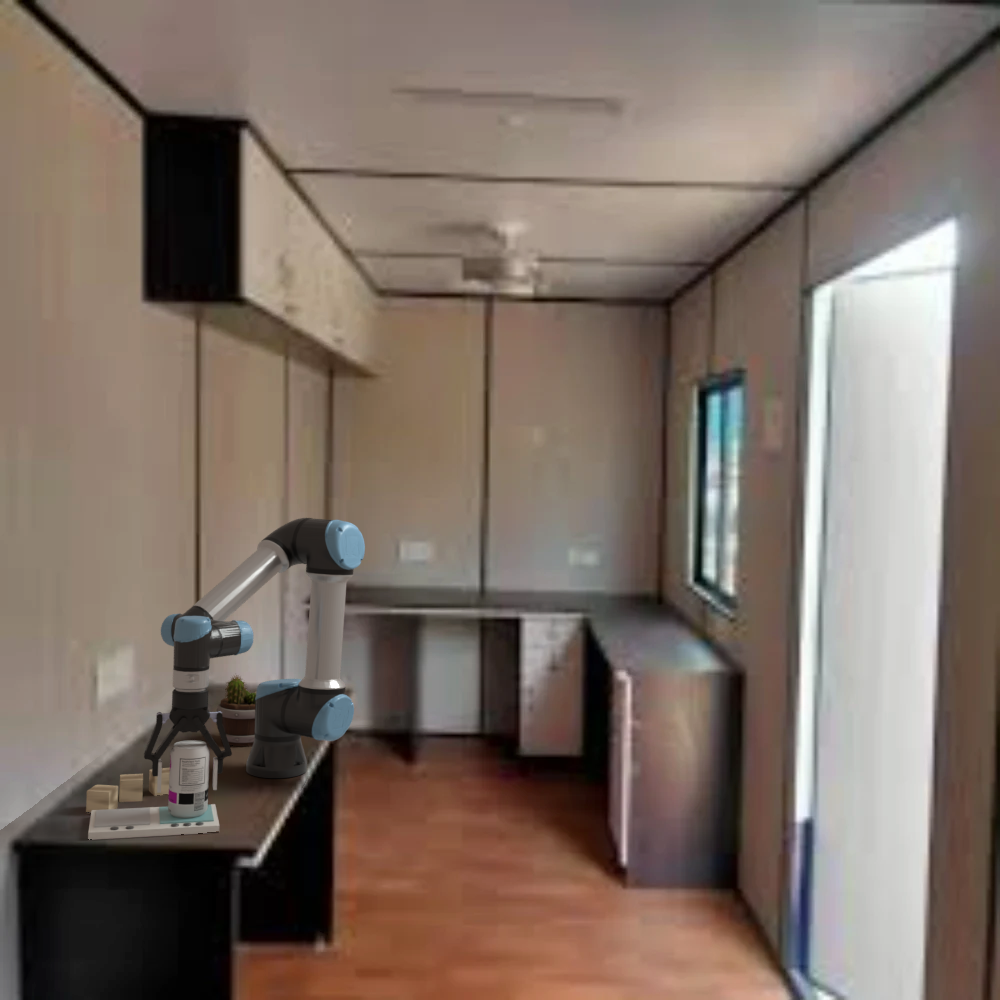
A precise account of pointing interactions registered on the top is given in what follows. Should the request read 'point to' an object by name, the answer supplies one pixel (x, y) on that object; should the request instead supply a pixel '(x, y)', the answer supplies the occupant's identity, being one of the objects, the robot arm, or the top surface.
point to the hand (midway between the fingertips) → (187, 789)
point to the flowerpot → (238, 713)
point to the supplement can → (188, 779)
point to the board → (148, 823)
